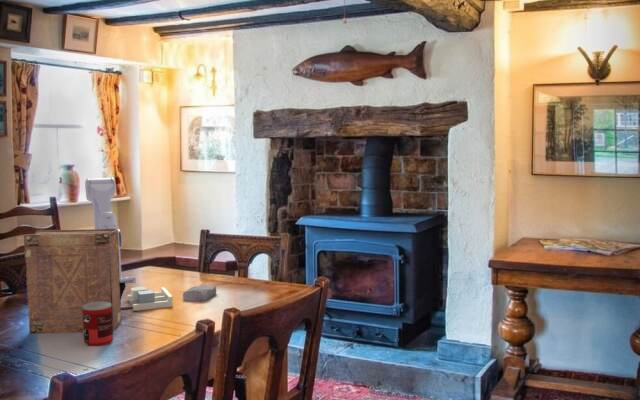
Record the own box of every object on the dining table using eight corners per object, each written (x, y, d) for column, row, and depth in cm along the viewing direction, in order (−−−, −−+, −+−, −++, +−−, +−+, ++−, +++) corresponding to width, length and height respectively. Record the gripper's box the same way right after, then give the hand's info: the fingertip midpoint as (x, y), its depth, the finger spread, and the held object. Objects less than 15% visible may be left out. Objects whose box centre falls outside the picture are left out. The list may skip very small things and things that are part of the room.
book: (28, 333, 199) (22, 234, 196) (40, 324, 208) (35, 230, 205) (113, 331, 200) (108, 233, 197) (121, 322, 209) (117, 228, 206)
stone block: (181, 305, 237) (207, 301, 234) (178, 292, 236) (204, 287, 234) (194, 298, 248) (219, 294, 246) (191, 286, 248) (216, 281, 246)
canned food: (88, 338, 193) (86, 301, 192) (116, 337, 194) (114, 300, 193) (80, 347, 186) (78, 308, 184) (110, 345, 186) (108, 307, 185)
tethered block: (109, 308, 226) (109, 292, 226) (152, 303, 232) (152, 288, 231) (111, 312, 222) (110, 296, 221) (155, 307, 227) (154, 291, 227)
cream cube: (131, 301, 236) (130, 287, 236) (145, 300, 238) (145, 286, 238) (133, 304, 232) (132, 290, 231) (148, 303, 233) (147, 289, 233)
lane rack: (127, 300, 237) (127, 291, 237) (164, 296, 242) (164, 287, 242) (133, 310, 223) (133, 300, 223) (172, 306, 228) (172, 296, 228)
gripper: (90, 270, 216) (92, 311, 218) (136, 266, 222) (137, 305, 224) (88, 266, 223) (90, 306, 224) (133, 262, 229) (134, 301, 230)
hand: (114, 305), depth 224 cm, fingers closed on tethered block, 2 cm apart
